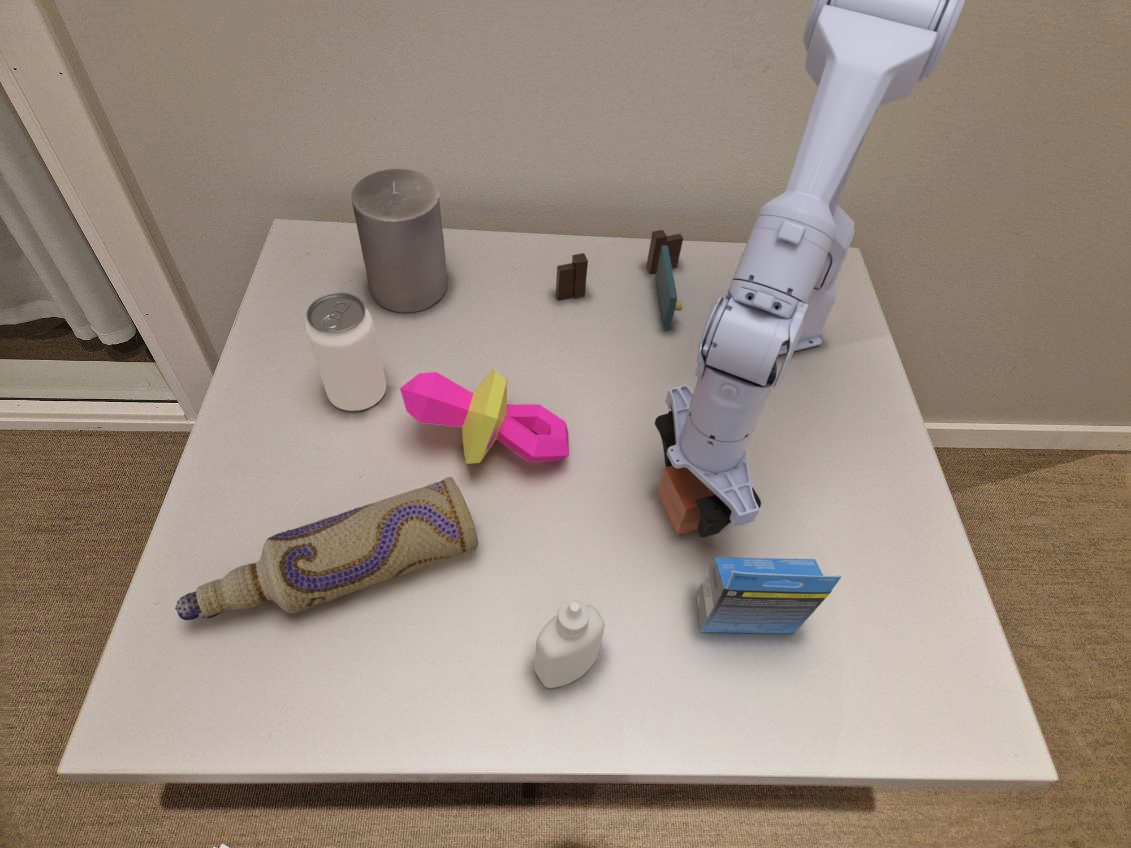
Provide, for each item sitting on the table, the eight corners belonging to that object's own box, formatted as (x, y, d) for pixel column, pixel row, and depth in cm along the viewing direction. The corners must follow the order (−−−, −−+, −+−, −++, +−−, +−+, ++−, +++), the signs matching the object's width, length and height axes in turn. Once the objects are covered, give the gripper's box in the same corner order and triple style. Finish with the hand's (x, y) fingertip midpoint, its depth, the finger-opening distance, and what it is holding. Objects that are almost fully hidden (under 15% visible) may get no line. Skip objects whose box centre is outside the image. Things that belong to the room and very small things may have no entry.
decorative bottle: (458, 497, 73) (453, 460, 68) (482, 561, 69) (479, 527, 64) (184, 583, 66) (155, 549, 61) (193, 660, 62) (162, 631, 57)
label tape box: (787, 596, 68) (832, 532, 58) (796, 638, 66) (844, 578, 56) (694, 594, 68) (724, 529, 58) (699, 636, 65) (731, 576, 56)
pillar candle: (369, 264, 93) (347, 160, 82) (445, 258, 95) (435, 155, 83) (370, 317, 88) (347, 213, 76) (452, 310, 89) (442, 207, 77)
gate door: (663, 329, 88) (670, 297, 84) (655, 277, 94) (661, 245, 90) (678, 329, 89) (686, 298, 84) (668, 277, 94) (675, 245, 90)
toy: (550, 509, 74) (589, 426, 69) (376, 456, 70) (404, 365, 65) (551, 457, 82) (585, 380, 78) (395, 407, 79) (422, 323, 74)
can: (317, 406, 79) (289, 327, 70) (342, 363, 83) (319, 283, 73) (373, 419, 78) (353, 341, 69) (396, 375, 82) (380, 296, 73)
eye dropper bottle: (533, 640, 64) (535, 580, 55) (596, 637, 65) (609, 578, 55) (535, 690, 62) (537, 637, 52) (600, 687, 62) (615, 633, 53)
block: (700, 482, 76) (710, 454, 72) (722, 522, 73) (733, 496, 69) (656, 494, 74) (664, 467, 70) (676, 536, 72) (686, 509, 68)
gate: (554, 295, 92) (556, 259, 87) (671, 259, 97) (678, 223, 92) (560, 304, 91) (562, 268, 86) (678, 267, 96) (686, 231, 92)
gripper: (645, 364, 65) (627, 452, 75) (718, 497, 56) (686, 575, 67) (716, 347, 66) (688, 436, 77) (797, 474, 58) (753, 554, 69)
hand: (692, 499), depth 72 cm, fingers open, 7 cm apart
